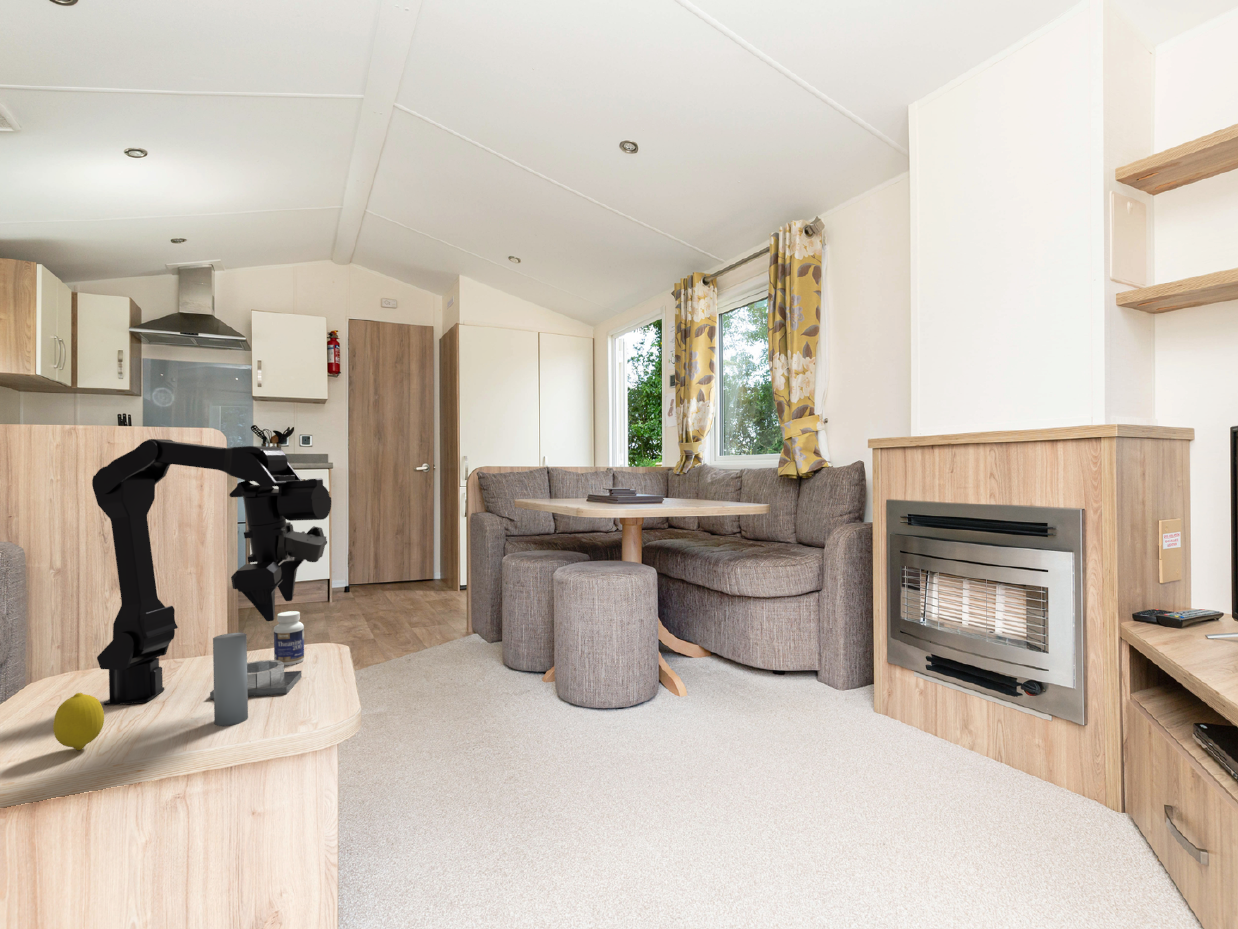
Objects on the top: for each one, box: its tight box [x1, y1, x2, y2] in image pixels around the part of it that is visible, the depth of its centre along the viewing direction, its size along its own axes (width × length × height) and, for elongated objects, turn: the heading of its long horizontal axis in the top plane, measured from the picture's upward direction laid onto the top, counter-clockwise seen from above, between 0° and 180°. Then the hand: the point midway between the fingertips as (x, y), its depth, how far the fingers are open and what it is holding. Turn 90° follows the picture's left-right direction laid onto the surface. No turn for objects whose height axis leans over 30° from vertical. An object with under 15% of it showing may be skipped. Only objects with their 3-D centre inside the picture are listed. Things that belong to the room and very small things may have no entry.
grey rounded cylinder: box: [212, 632, 249, 727], centre depth 103 cm, size 4×4×13 cm
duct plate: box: [209, 659, 302, 700], centre depth 118 cm, size 12×9×4 cm
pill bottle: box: [273, 610, 305, 666], centre depth 133 cm, size 5×5×10 cm
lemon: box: [52, 692, 105, 751], centre depth 93 cm, size 6×6×8 cm
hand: (280, 610), depth 113 cm, fingers open, 9 cm apart
